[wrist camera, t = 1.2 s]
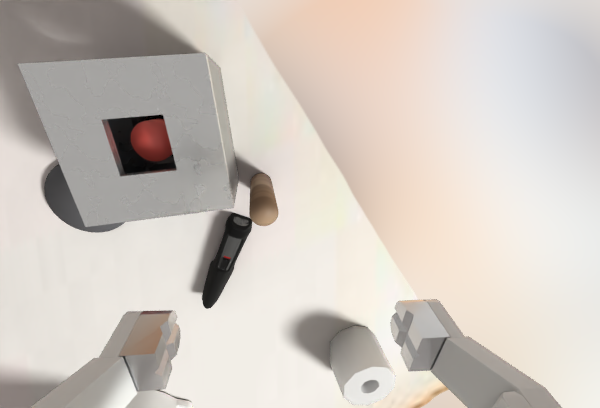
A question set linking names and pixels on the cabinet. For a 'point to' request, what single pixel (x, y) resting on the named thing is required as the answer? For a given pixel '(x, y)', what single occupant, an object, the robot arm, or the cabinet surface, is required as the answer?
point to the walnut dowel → (262, 200)
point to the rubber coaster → (67, 203)
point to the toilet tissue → (360, 366)
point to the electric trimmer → (226, 257)
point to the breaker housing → (119, 124)
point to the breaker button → (151, 140)
